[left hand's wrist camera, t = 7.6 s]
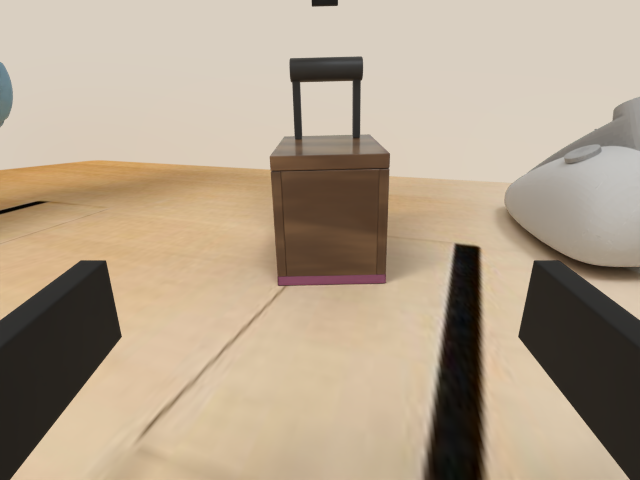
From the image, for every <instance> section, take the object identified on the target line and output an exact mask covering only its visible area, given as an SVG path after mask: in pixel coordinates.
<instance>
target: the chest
mask: <svg viewBox="0 0 640 480" xmlns="http://www.w3.org/2000/svg"><path fill="white" fill-rule="evenodd" d="M271 182H272V197H273V212H274V227H275V242H276V257H277V272H278V285H319V284H365V283H386V248H387V220H388V192H389V168H371V169H329V170H287V171H271Z"/></svg>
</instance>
